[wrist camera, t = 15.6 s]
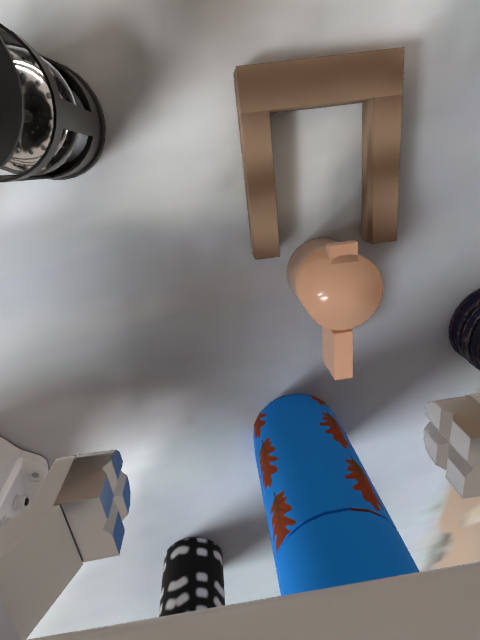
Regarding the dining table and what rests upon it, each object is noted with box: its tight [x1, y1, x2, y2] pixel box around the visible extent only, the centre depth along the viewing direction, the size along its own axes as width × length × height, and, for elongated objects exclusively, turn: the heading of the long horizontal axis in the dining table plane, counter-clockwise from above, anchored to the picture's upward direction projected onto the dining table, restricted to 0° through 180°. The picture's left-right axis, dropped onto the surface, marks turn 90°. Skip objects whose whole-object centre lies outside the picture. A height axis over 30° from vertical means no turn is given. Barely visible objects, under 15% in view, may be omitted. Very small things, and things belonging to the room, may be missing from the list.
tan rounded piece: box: [287, 238, 383, 380], centre depth 38 cm, size 13×7×8 cm, turn 7°
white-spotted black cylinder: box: [159, 538, 225, 617], centre depth 46 cm, size 8×8×20 cm
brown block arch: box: [234, 47, 404, 260], centre depth 36 cm, size 16×14×3 cm
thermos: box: [253, 394, 419, 596], centre depth 37 cm, size 11×11×25 cm
